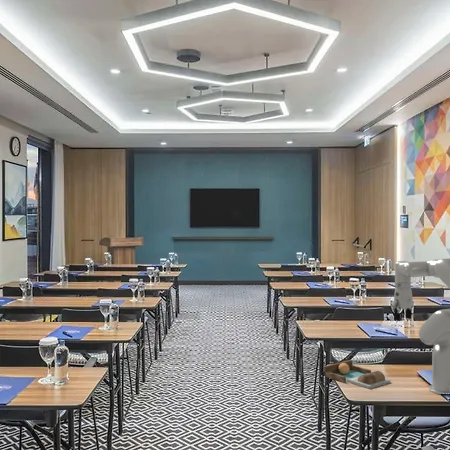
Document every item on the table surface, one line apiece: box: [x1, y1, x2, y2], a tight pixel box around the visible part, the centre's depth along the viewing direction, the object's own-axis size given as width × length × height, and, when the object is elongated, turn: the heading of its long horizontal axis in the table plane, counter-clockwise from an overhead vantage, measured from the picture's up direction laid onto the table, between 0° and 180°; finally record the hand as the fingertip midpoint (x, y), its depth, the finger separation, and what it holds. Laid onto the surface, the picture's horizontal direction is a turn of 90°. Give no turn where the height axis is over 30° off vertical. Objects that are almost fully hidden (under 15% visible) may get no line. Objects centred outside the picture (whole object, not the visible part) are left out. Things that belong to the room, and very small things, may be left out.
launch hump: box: [357, 370, 386, 385], centre depth 243 cm, size 7×12×7 cm, turn 126°
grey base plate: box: [347, 376, 391, 390], centre depth 244 cm, size 13×16×1 cm
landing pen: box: [323, 359, 372, 383], centre depth 255 cm, size 13×20×5 cm, turn 126°
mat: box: [337, 370, 364, 383], centre depth 255 cm, size 11×18×1 cm, turn 126°
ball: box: [338, 363, 349, 374], centre depth 257 cm, size 6×6×6 cm
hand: (402, 319), depth 255 cm, fingers open, 9 cm apart
